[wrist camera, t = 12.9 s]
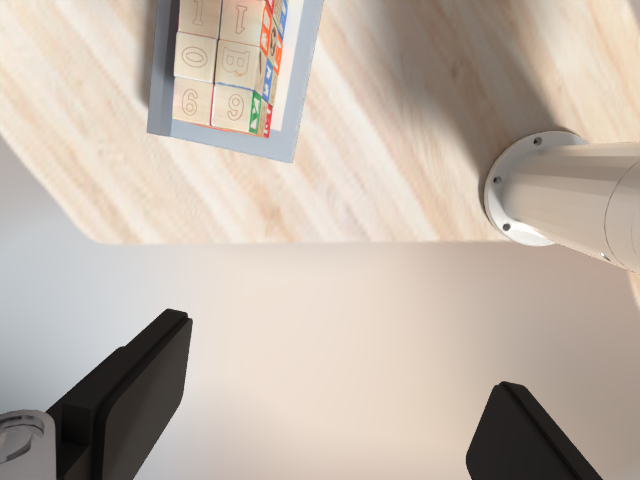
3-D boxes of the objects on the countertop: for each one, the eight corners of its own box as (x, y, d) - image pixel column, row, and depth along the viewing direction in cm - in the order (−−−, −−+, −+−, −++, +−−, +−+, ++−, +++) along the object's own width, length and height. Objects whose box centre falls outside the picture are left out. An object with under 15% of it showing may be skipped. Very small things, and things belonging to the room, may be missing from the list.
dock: (344, -111, 32) (346, -164, 27) (292, 162, 38) (286, 163, 33) (200, -145, 32) (174, -204, 26) (172, 136, 38) (146, 132, 33)
